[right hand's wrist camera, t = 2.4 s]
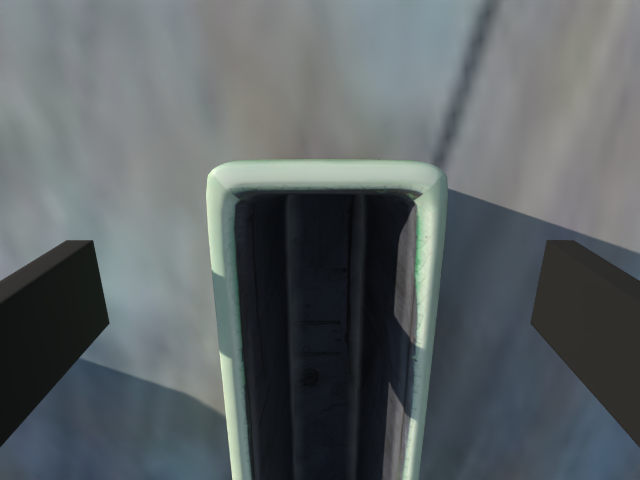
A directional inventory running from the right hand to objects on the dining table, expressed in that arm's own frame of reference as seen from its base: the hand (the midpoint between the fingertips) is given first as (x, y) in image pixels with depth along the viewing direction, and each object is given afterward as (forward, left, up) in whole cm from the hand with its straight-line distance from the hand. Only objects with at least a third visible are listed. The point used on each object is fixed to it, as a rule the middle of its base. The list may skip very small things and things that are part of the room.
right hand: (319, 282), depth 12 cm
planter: (+2, +10, -8) cm, 13 cm away
